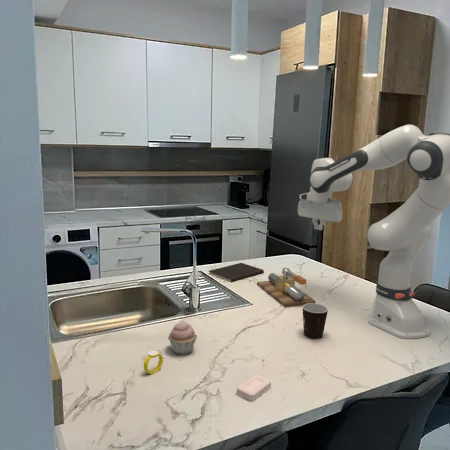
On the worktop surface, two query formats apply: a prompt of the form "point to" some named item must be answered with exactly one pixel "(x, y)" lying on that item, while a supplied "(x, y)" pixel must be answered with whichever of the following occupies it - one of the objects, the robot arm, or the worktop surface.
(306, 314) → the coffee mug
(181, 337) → the cupcake
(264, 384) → the soap bar
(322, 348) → the worktop surface
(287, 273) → the valve lever
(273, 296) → the mount board
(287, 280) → the valve body
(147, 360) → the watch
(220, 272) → the hardcover book
